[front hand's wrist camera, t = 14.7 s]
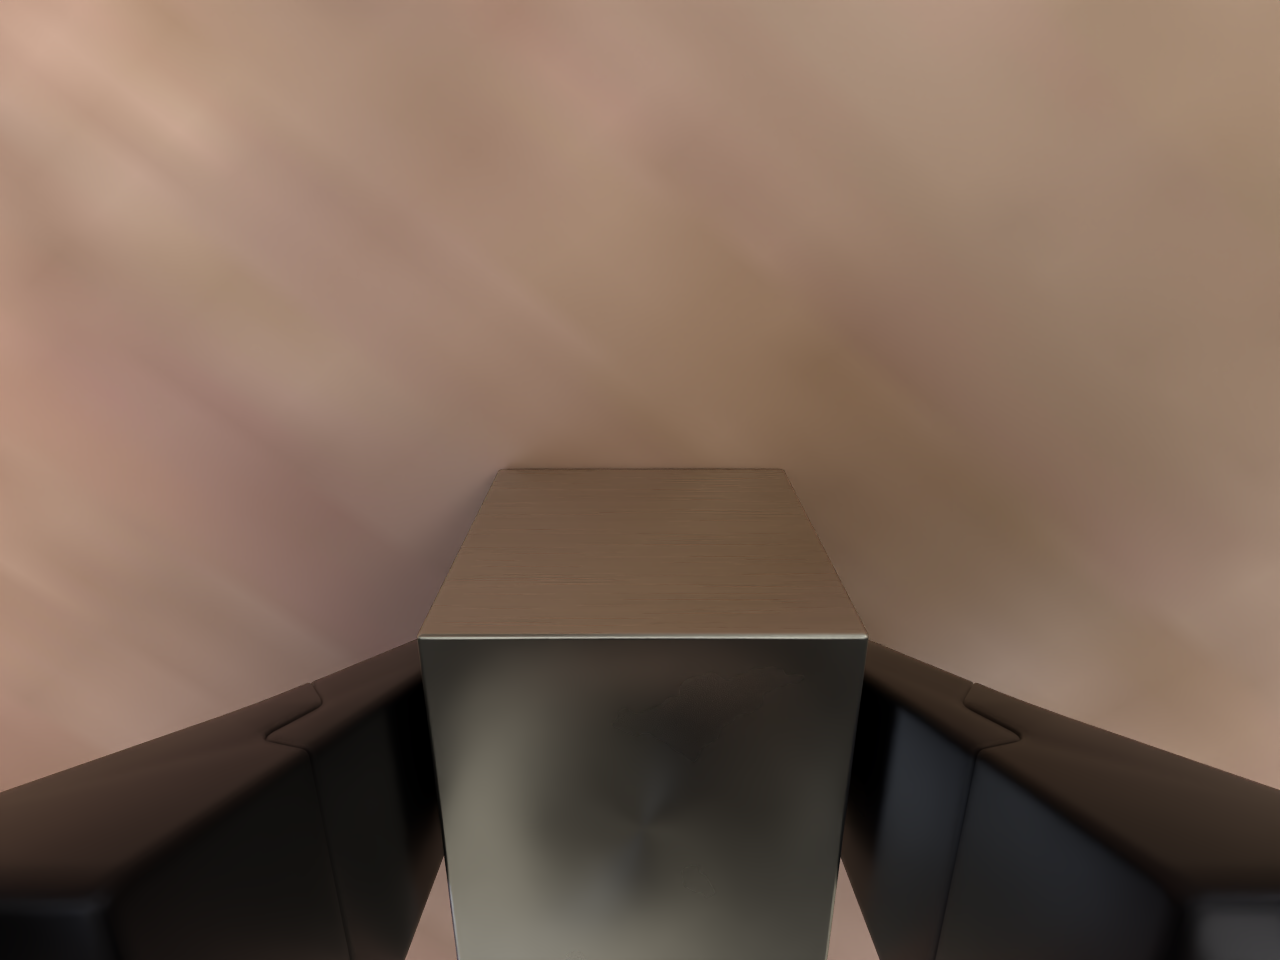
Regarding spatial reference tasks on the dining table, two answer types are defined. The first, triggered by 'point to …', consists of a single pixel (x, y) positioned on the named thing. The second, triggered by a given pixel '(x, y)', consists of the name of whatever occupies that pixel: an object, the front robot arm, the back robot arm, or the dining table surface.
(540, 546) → the silver metal block
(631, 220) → the dining table surface
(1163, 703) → the dining table surface
